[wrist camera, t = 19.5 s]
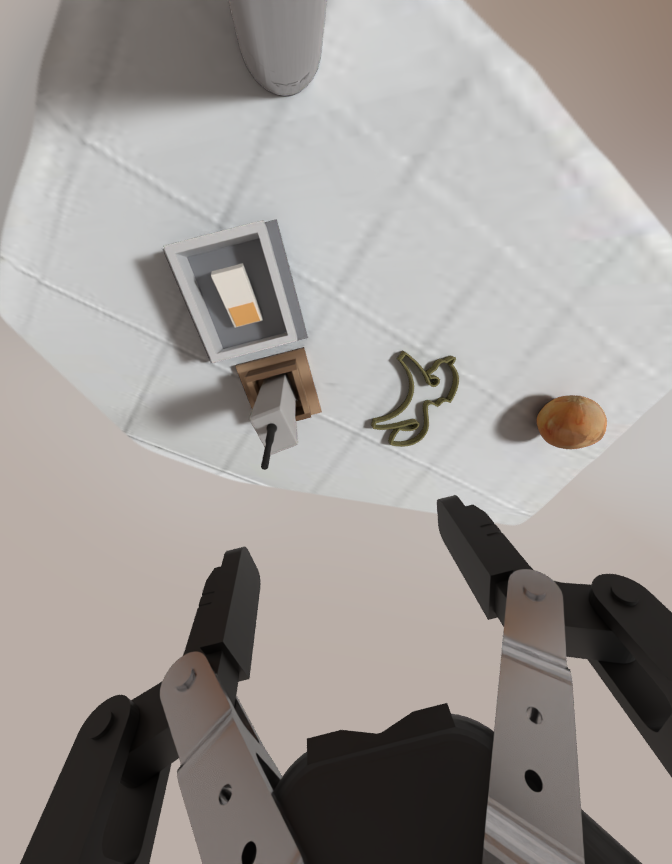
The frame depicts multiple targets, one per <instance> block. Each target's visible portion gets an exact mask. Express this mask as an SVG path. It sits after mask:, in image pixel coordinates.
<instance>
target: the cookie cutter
mask: <svg viewBox="0 0 672 864" xmlns="http://www.w3.org/2000/svg"><path fill="white" fill-rule="evenodd" d="M405 355H406V356H407V357H409V358H410V359H411V360H412V361H413V362H414V363H415V364H416V365H417V367H418V368H419V369H420V371H421V372H422V374H423V376H424V378H425V381H426V383H427V384H429V385H430V386H432V387H436V386H437V385H438V384H439V383H440V379H439V378H438V377H436V376H435V375H430V374H432V373H433V372H434V371H436V370H437V368H438V366H439V365H440V364H441V363H443V362H445V363H447V364H448V365H449V367H450V368H451V370H452V373H453V383H452V387H451V390H450V392H449V394H448V396H447V398H444V397H441V398H439V399H437V400H436V401H435V402H432V401H430V400H425V401H424V403H423V413H424V426H423V429H422V430H421V432H420V433H419V434H418V435H417V436H416V437H414V438H412V439H410V440H407V441H393V440H394V438H395V436H396V434H397V433H398V432H399V431H400V430H402V431H413V430H416V429H417V428H418V427H419V423H418V421H417V420H416V419H409V420H405V421H401V422H397V423H392V424H386V425H376V423H379V422H383V421H387V420H390V419H392V418H394V417H396V416H397V415H399V414H400V413H402V412H403V411H404V410H405V409H406V408H407V406H408V405H409V403H410V402H411V400H412V397H413V393H414V381H413V377H412V375H411V372H410V370H409V369H408V367H407V366H406V364H405V363H404V362H403V361H402V359H403V358H404V357H405ZM397 359H398V360H399V361H400V362H401V364H402V365H403V367H404V368H405V370H406V372H407V374H408V378H409V392H408V395H407V398H406V399H405V401H404V403H403V404H402V405H401V406H400V407H399V408H398V409H396V410H395V411H394V412H392V413H390V414H388V415H385V416H382V417H378V418H373V420H372V424H371V426H372V427H373V429H377V430H387V429H393V431H392V432H391V434H390V437H389V440H388V441H389V443H390V445H393V446H400V447H403V446H410V445H413V444H416V443H417V442H419V441H420V440H422V439H423V438H424V437H425V435H426V433H427V431H428V428H429V417H428V406H429V405H430V404H433V405H435V406H437V407H438V406H440V405H441V404H442V403H443V402H449V403H451V401H452V400H453V398H454V396H455V394H456V391H457V388H458V384H459V376H458V372H457V370H456V368H455V367H454V366H453V364H454V362H455V360H456V357H453V356H448V357H446V358H444V359H438V360H436V361H435V362H434V364H433V365H432V367H431V368H429V369H428V370H427V371H424V369H423V368H422V367H421V366H420V365H419V363H418V362H417V361H416V360H414V359H413V358H412V357H411V356H410V355H409V354H407V353H406V352H404V351H402V352H401V354H400V355H399V356H398V358H397ZM429 378H430V379H434V378H435V379H434V381H433V382H432V383H430V380H429ZM411 424H413V425H411ZM407 425H411V426H407Z"/></svg>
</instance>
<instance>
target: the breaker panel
mask: <svg viewBox="0 0 672 864" xmlns="http://www.w3.org/2000/svg"><path fill="white" fill-rule="evenodd" d="M163 247H164V249H163V251H164V254H165V256H166V258H167V261H168V263H169V265H170V268H171V270H172V272H173V275H174V277H175V280H176V282H177V284H178V287H179V289H180V291H181V294H182V296H183V298H184V301H185V303H186V306H187V308H188V310H189V313H190V315H191V317H192V320H193V322H194V324H195V327H196V329H197V332H198V334H199V336H200V339H201V341H202V343H203V346H204V348H205V350H206V353H207V355H208V358H209V360H210V362H211V363H215V362H219V361H223V360H226V359H230V358H234V357H238V356H242V355H246V354H249V353H253V352H257V351H261V350H265V349H269V348H272V347H276V346H280V345H284V344H288V343H291V342H295V341H298V340H302V339H306V338H308V336H307V332H306V328H305V325H304V321H303V317H302V313H301V309H300V306H299V302H298V298H297V294H296V291H295V287H294V283H293V279H292V276H291V272H290V268H289V264H288V260H287V257H286V253H285V249H284V245H283V242H282V238H281V234H280V230H279V226H278V223H277V219H276V220H272V221H268V222H264V221H263V220H261V221H258V222H254V223H250V224H246V225H242V226H238V227H234V228H230V229H227V230H223V231H219V232H215V233H211V234H207V235H203V236H200V237H196V238H192V239H188V240H184V241H180V242H176V243H172V244H169V245H165V246H163ZM242 263H243V265H244V268H245V271H246V273H247V276H248V279H249V281H250V284H251V287H252V290H253V292H254V295H255V298H256V300H257V303H258V306H259V308H260V311H261V314H262V319H263V320H262V321H258V322H254V323H250V324H247V325H243V326H239V327H234V325H233V323H232V320H231V318H230V316H229V314H228V312H227V309H226V307H225V305H224V303H223V301H222V299H221V296H220V294H219V292H218V290H217V288H216V286H215V283H214V281H213V279H212V277H211V273H212V271H215V270H219V269H223V268H226V267H230V266H234V265H238V264H242Z"/></svg>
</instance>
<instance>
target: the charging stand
mask: <svg viewBox="0 0 672 864" xmlns="http://www.w3.org/2000/svg"><path fill="white" fill-rule="evenodd" d="M235 367H236V369H237V372H238V374H239V377H240V380H241V382H242V385H243V387H244V390H245V392H246V395H247V398H248V400H249V403H250V405H251V408H252V409H253V407H254V404H255V402H256V399H257V396H258V394H259V391H260V389H261V386H262V383H263V381H264V379H267V378H269V377H272V376H275V375H278V374H282V373H287V376H288V378H289V380H290V382H291V384H292V387H293V389H294V391H295V393H296V395H297V398H298V401H295V419H296V421H299V420H303V419H306V418H310V417H311V415H313V414H317V413H320V412H322V411H321V407H320V404H319V400H318V396H317V393H316V389H315V386H314V382H313V378H312V375H311V371H310V367H309V364H308V360H307V356H306V353H305V349H304V347H303V348H299V349H296V350H292V351H288V352H284V353H280V354H276V355H273V356H269V357H265V358H261V359H257V360H253V361H250V362H246V363H242V364H238V365H236V366H235Z"/></svg>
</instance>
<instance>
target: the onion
mask: <svg viewBox="0 0 672 864" xmlns="http://www.w3.org/2000/svg"><path fill="white" fill-rule="evenodd" d="M537 426H538V430H539V432H540V434H541V436H542V437H543V439H544V440H545V441H546V442H547V443H549V444H551V445H553V446H555V447H558V448H563V449H578V448H583V447H587V446H590V445H592V444H595V443H596V442H598V441H600V440H601V439H602V437H603V436H604V434H605V431H606V426H607V418H606V415H605V413H604V411H603V409H602V408H601V407H600V405H599V404H598V403H596V402H595V401H593V400H591V399H589V398H586V397H582V396H573V395H570V396H562V397H558V398H555V399H553V400H552V401H550V402H549V403H547V404H546V405H545V406H544V407H543V408H542V409H541V411H540V412H539V414H538V416H537Z"/></svg>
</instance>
